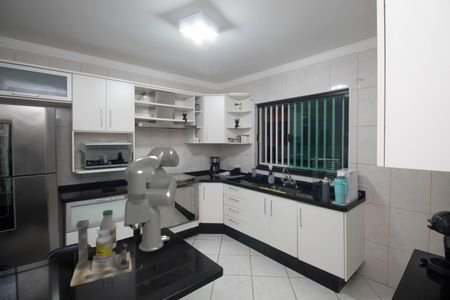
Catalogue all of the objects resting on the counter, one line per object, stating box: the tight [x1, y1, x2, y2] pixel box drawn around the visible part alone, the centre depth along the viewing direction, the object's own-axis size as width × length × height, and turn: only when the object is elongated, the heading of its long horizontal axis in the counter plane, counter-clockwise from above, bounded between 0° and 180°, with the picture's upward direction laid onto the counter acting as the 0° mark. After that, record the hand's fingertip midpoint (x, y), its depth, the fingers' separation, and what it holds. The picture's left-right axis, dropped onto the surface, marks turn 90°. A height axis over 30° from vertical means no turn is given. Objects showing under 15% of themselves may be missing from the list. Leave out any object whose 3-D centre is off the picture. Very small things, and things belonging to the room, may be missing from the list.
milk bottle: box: [99, 209, 117, 250], centre depth 110 cm, size 8×8×20 cm
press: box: [70, 219, 133, 287], centre depth 92 cm, size 22×15×22 cm
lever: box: [119, 242, 129, 269], centre depth 90 cm, size 4×3×10 cm
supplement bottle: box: [95, 229, 114, 262], centre depth 95 cm, size 7×7×13 cm
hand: (137, 237), depth 92 cm, fingers closed
